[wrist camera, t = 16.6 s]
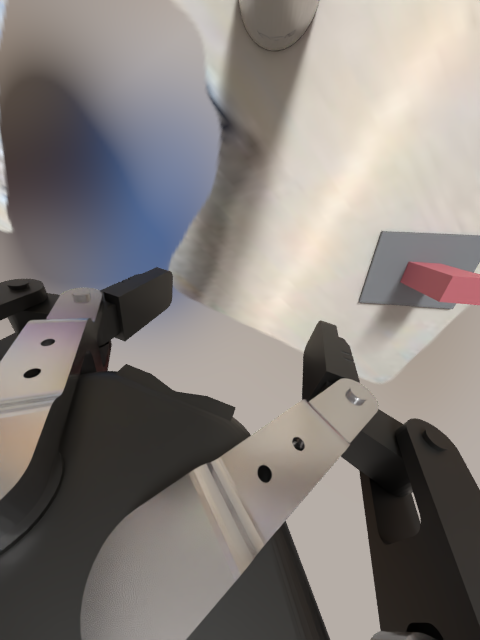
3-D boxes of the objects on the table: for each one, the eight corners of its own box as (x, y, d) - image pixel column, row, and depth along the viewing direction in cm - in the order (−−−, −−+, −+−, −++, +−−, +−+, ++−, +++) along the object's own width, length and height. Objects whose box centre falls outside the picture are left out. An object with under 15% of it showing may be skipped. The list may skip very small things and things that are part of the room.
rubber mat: (381, 231, 33) (382, 231, 32) (491, 236, 31) (494, 236, 31) (358, 301, 38) (359, 302, 38) (451, 307, 37) (453, 308, 36)
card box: (408, 261, 34) (453, 276, 26) (441, 263, 33) (496, 279, 25) (400, 282, 35) (439, 301, 27) (430, 284, 35) (479, 305, 27)
